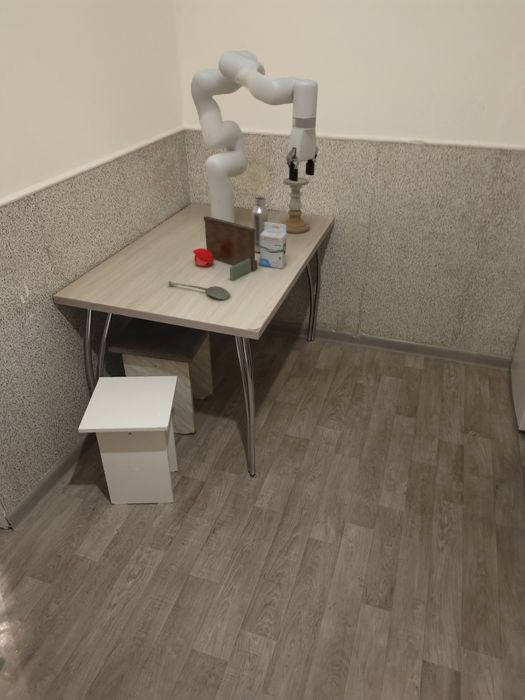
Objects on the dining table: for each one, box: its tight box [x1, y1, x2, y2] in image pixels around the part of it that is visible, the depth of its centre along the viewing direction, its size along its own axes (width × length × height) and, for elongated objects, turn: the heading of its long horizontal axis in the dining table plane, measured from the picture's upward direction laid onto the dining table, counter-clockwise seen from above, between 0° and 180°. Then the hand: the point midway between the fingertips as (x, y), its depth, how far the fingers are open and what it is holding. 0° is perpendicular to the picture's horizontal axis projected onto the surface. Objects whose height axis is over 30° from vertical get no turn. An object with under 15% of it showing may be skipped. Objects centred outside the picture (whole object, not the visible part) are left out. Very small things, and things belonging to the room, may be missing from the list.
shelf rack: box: [203, 215, 258, 281], centre depth 178 cm, size 23×13×15 cm, turn 52°
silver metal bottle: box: [250, 196, 269, 253], centre depth 190 cm, size 6×7×20 cm
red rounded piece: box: [192, 247, 215, 268], centre depth 182 cm, size 8×6×6 cm
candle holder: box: [281, 176, 310, 234], centre depth 211 cm, size 12×12×20 cm
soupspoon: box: [168, 280, 230, 301], centre depth 165 cm, size 22×3×7 cm
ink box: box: [259, 221, 288, 270], centre depth 180 cm, size 8×5×15 cm, turn 71°
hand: (301, 177), depth 173 cm, fingers open, 9 cm apart
